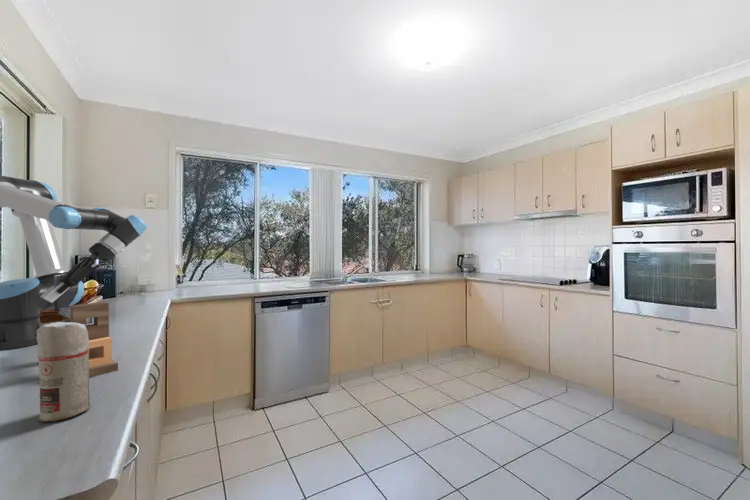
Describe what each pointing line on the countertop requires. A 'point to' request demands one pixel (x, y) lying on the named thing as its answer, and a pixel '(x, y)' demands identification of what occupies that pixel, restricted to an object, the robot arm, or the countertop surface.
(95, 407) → the countertop surface
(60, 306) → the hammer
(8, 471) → the countertop surface
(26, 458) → the countertop surface
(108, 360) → the collar
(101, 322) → the rail base
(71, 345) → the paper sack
